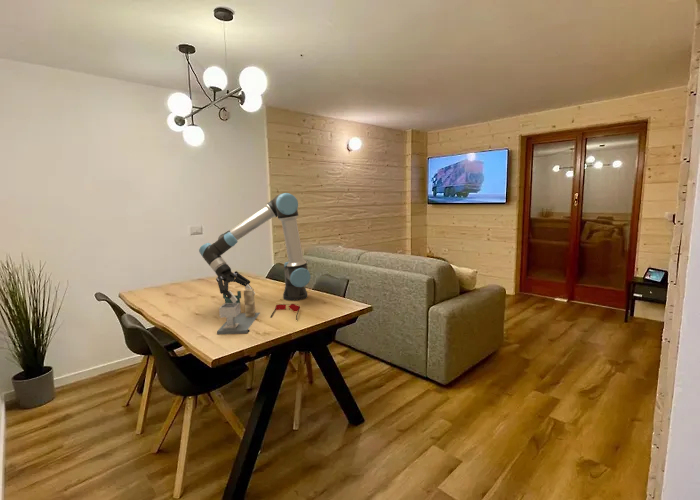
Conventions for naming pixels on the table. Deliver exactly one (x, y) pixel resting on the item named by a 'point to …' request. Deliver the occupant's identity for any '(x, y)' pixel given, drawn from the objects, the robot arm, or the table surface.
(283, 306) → the glasses
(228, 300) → the bracket
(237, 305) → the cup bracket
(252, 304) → the light brown tall block
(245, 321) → the board
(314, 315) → the table surface
